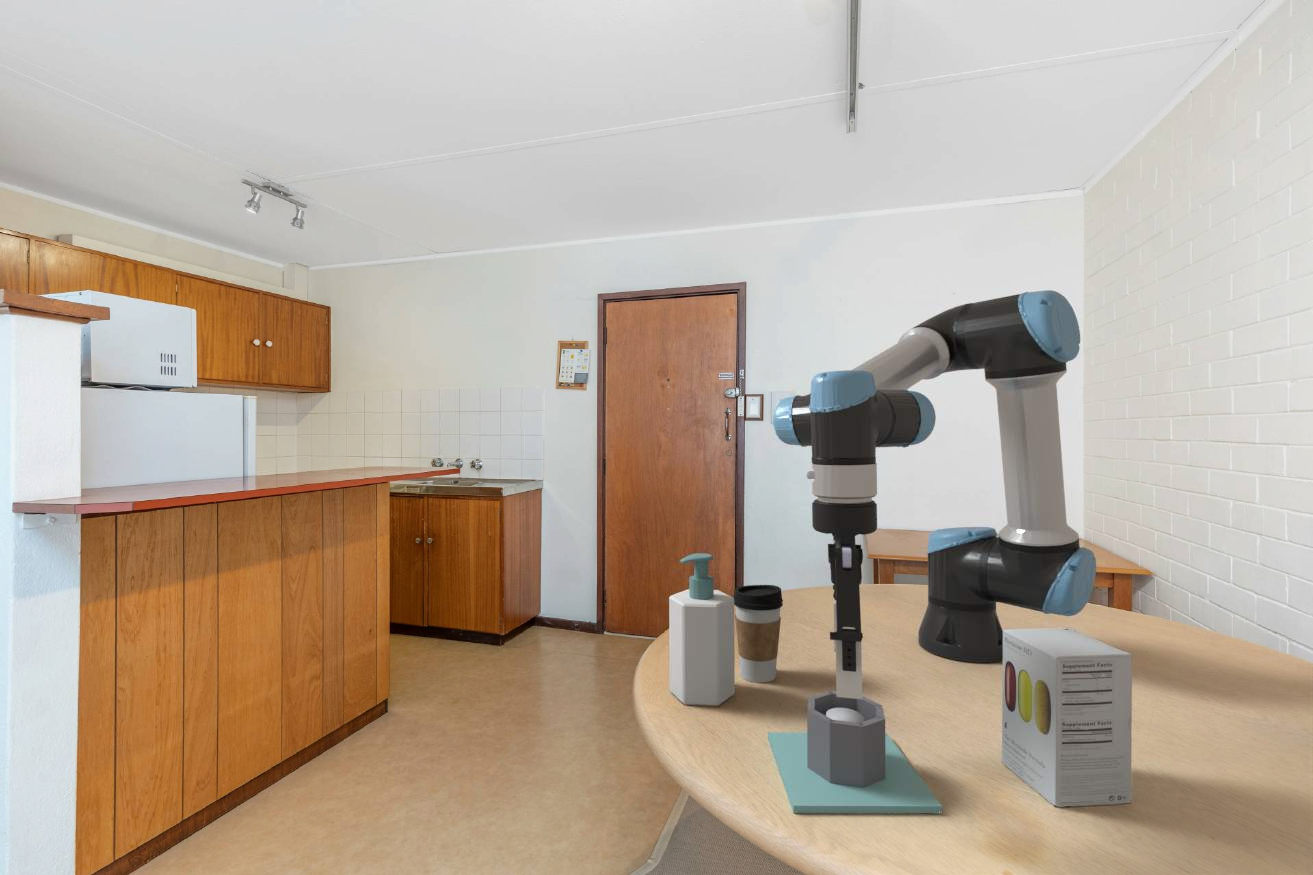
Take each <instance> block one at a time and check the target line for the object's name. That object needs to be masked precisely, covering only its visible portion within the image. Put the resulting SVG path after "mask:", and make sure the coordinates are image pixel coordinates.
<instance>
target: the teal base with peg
mask: <svg viewBox="0 0 1313 875" xmlns="http://www.w3.org/2000/svg"><path fill="white" fill-rule="evenodd" d="M826 716H827V717H829V718H831V719H832V720H839V721H848V722H856V723H861V722H864V717H863V715H862V714H860V713H859V712H857V711H855V710H852V709H848V708H832V709H829V710H828V711H827V712H826ZM767 741H768V743H769V747H770V749H771V752H772V754H773V758H774V760H775V764H776V766H777V767H776V768H777V769H778V772H779V775H780V778H781V781H782V784H783V786H784V790H785V792H786V795H787V798H788V802H789V804H790V807H791V810H792V813H793V814H900V815H901V814H903V815H904V814H905V813H906V814H907V813H909V814H910V813H911V814H913V813H914V814H915V815H916V813H918V814H919V813H939V812H940V813H942V811H943V810H942V809H943V807H942V805H941V803H940V802H939V801H938V800H937V798H936V797H935V796H934V794H933V793H932V791H931V790H930V789H929V787H928V786H927V785H926V783H925V782H924V780H923V779H922V778H921V776H920V775H919V774H918V772H916V770H915V769H914V767H913V766H912V764H910V762H909V760H907V758H906V757H905V755H904V754H903V753H902V752H901V750H900V749H899V747H898V745H897V744H896V743H895V742H894V740H892V738H891V736H890V735H889V734H888V733H887V732H885V779H884V780H881V781H879V782H877V783H874V784H872V785H869V786H867V787H865V788H860V787H853V786H846V785H840V784H833V783H829V782H828V781H826V780H825V779H823V778H822V777H820V776H819V775H818V774H816V773H815V772H813V771H812V770H810V769H809V768H808V765H807V731H806V732H805V731H801V732H800V731H796V732H795V731H794V732H793V731H792V732H791V731H789V732H787V731H785V732H784V731H778V732H777V731H775V732H774V731H773V732H772V731H771V732H769V731H767ZM942 814H943V813H942ZM907 815H908V814H907Z"/></svg>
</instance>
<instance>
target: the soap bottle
mask: <svg viewBox="0 0 1313 875" xmlns="http://www.w3.org/2000/svg"><path fill="white" fill-rule="evenodd" d="M713 559H714V555H712V554H710V553H706V552H704V553H702V552H701V553H699V552H697V553H696V552H695V553H693V554H689V555H687V556H685V557H683V558H681V559H680V560H679V563H680V564H682V565H683V564H687V563H693V565H694V566H693V567H694V568H693V569H694V570H693V571H694V572H693V573H694V575H691V576H689V578H688V581H689V585H688V586H689V588H688V589H685V590H683V591H680V592H677V593H675V594H672V595H670V596H669V597H668V602H669V603H668V606H669V608H668V610H669V612H668V614H669V615H668V616H669V617H668V618H669V620H668V621H669V622H668V623H669V624H668V625H669V627H668V628H669V636H668V637H669V638H668V639H669V640H668V641H669V645H668V647H669V658H668V659H669V692H671V694H672V695H673V696H675V697H676V699H678V700H679V702H681V703H682V704H683V705H685V706H700V707H701V706H702V707H703V706H704V707H705V706H707V707H718V706H720V705H721V704H723V703H724V702H725V701H727V700H729V698H731V697H732V696H734V695H735V693H736V692H735V689H736V688H735V687H736V686H735V682H736V681H735V678H736V677H735V676H736V675H735V605H734V598H733V597H734V596H732V595H731V596H730V595H729V594H727V593H725V592H723V591H721V590H719V589H715V588H714V583H715V582H714V580H715V579H714V576H711V575H710V573H709V572H710V570H709V569H710V567H709V566H710V564H709V563H710V561H712V560H713Z"/></svg>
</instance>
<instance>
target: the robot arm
mask: <svg viewBox="0 0 1313 875" xmlns="http://www.w3.org/2000/svg"><path fill="white" fill-rule="evenodd" d="M1080 330H1081V329H1080V324H1079V322H1078V318H1077V315H1076V313H1075V310H1074V308H1073V306H1072V304H1071V303H1070V302H1069V300H1068V299H1067V298H1066V297H1065V296H1064V295H1063V294H1061V293H1060V292H1058V291H1056V290H1050V289H1049V290H1047V289H1046V290H1038V291H1029V292H1028V291H1026V292H1022V293H1018V294H1017V293H1016V294H1013V295H1008V296H1004V297H1003V296H1002V297H997V298H992V299H987V300H981V301H976V302H970V303H969V302H968V303H964V304H961V305H958V306H954V307H951V308H950V309H947V310H944V311H942V312H940V313H938V314H936V315H934V316H932V317H930V318H928V319H927V320H924V321H923V322H921V323H919V324H917V325H915V326H913V327H912V328H910V329H909V330H907V331H906V332H904V333H903V334H902V335H901V336H900V337H899V340H898V341H897V343H896V344H894V345H892V346H890V347H889V348H887V349H885V350H884V351H882V352H880V353H879V354H877V355H875V356H873V357H871V358H870V359H868V360H866V361H865V362H863V363H861V364H859V365H858V366H856V367H854V368H853V369H850V370H848V369H847V370H845V369H844V370H832V371H825V372H819V373H817V374H816V375H813V377H812V379H811V382H810V393H809V394H806V395H798V394H797V395H794V396H790V397H785V398H783V399H781V400H780V401H779V402H778V403H777V405H776V407H775V409H774V411H773V416H772V425H773V427H774V428H773V429H774V431H775V432H774V433H775V434H776V436H777V438H778V439H779V440H780V442H782V443H784V444H786V445H791V446H800V447H803V448H804V447H805V448H806V447H811V468H812V470H808V471H807V473H806V478H807V480H813V481H812V482H811V487H812V488H811V490H812V491H811V492H812V495H814V497H817V499H814V500H813V501H812V503H811V512H812V513H811V514H812V516H811V517H812V518H811V521H812V528H813V530H814V531H816V532H818V533H822V534H826V535H828V534H830V535H832V538H833V543H827V559H828V563H829V566H830V581H831V583H832V584H833V585H832V589H833V593H832V594H833V595H832V597H833V598H834V600H835V601H833V631H830V632H829V640H831V641H834V645H833V646H834V648H833V649H834V653H835V674H836V675H835V676H836V677H835V681H836V690H835V692H836V694H837V697H844V698H854V699H862V696H863V669H862V667H863V666H862V664H863V661H862V659H863V658H862V641H863V638H864V634H863V632H862V621H861V620H862V617H861V616H862V615H861V597H860V596H861V595H860V594H861V593H860V592H861V591H860V585H862V580H863V576H862V575H863V573H862V565H863V562H864V554H863V549H862V544H856V536H858V535H863V536H865V535H870V534H873V533H874V532H876V531H877V529H878V507H877V506H878V504H877V503H876V501H875V500H873V498H874V497H876V496H877V495H878V476H877V475H878V471H877V470H878V469H877V468H878V467H877V466H878V465H877V456H876V449H877V448H892V447H893V448H897V447H898V448H907V447H909V446H914V445H918V444H920V443H922V442H924V441H925V440H927V439H928V438H929V437H930V436H931V434H932V433H933V431H934V428H935V425H936V419H937V418H936V410H935V407H934V405H933V404H932V402H931V400H930V399H929V398H928V396H926V395H924V394H922V393H921V392H918V391H913V390H909V389H910V388H912V387H913V386H915V385H916V384H917V383H919V382H920V381H922V380H932V379H935V378H937V377H939V376H941V375H942V374H945V373H950V372H957V371H968V370H981V369H982V370H984V378H985V379H984V380H985V381H986V382H987V383H989V385H991V386H992V387H993V388H994V389H995V390H996V401H997V413H998V426H999V436H1000V437H999V439H1000V448H1001V449H1000V451H1001V461H1002V472H1003V473H1002V475H1003V483H1004V484H1003V485H1004V495H1005V507H1006V521H1007V523H1006V525H1005V526H1003V527H1002V529H1000V530H999V531H998V532H997V530H996V529H995V528H994V527H988V526H961V527H948V528H946V527H945V528H940V529H936V530H933V531H932V532H931V533H929V536H928V540H927V551H926V555H927V606H926V609H925V612H924V615H923V617H922V621H921V623H920V626H919V629H918V636H917V637H918V640H917V641H918V645H919V646H920V647H921V648H922V649H923V650H925V651H927V652H929V653H931V654H932V655H933V654H934V655H937V656H938V657H941V658H945V659H950V660H956V661H961V662H967V663H968V662H969V663H994V662H1000V661H1003V630H1004V629H1003V628H1002V624H1001V622H1000V619H999V616H998V614H997V603H1001V604H1005V605H1009V606H1013V607H1018V608H1022V609H1027V610H1031V611H1036V612H1040V613H1043V614H1045V615H1050V614H1051V615H1058V616H1064V617H1072V616H1076V615H1078V614H1079V613H1081V612H1082V610H1083V609H1084V608H1085V607H1086V605H1087V604H1088V602H1089V600H1090V598H1091V595H1092V592H1093V589H1094V586H1095V580H1096V573H1097V559H1096V556H1095V553H1094V552H1093V550H1091V549H1089V548H1088V547H1084V546H1081V545H1080V535H1079V533H1078V532H1077V531H1076V530H1074V529H1073V528H1072V527H1071V526H1070V525H1069V524H1068V522H1067V520H1068V519H1067V510H1066V496H1065V483H1064V482H1065V481H1064V467H1063V457H1062V454H1063V452H1062V444H1061V443H1062V442H1061V441H1062V440H1061V429H1060V414H1059V405H1058V404H1059V403H1058V402H1059V401H1058V388H1057V387H1058V386H1057V383H1058V381H1059V380H1060V379H1061V378H1062V377H1063V376H1065V374H1066V373H1067V371H1068V369H1067V363H1068V362H1071V361H1072V360H1075V358H1077V356H1078V355H1079V352H1080V344H1081V331H1080ZM1080 546H1081V547H1080Z"/></svg>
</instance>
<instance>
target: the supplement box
mask: <svg viewBox="0 0 1313 875" xmlns="http://www.w3.org/2000/svg"><path fill="white" fill-rule="evenodd" d="M1002 630H1003V660H1002V691H1001V692H1002V694H1001V696H1002V698H1001V699H1002V700H1001V701H1002V704H1001V706H1002V707H1001V708H1002V709H1001V710H1002V711H1001V719H1002V720H1001V763H1003V764H1004V765H1005V766H1007V768H1009V770H1011V771H1012V772H1013V773H1014V774H1016V775H1017V776H1018V777H1019V778H1020V779H1021V780H1023V781H1024V782H1025V783H1027V785H1029V786H1030V787H1031V788H1032V789H1033V790H1035V791H1036V793H1038V794H1039V795H1040V794H1041V797H1043V798H1044V799H1045V800H1046V799H1047V800H1046V801H1047V802H1049V803H1050V804H1051V803H1052V804H1053V805H1052V804H1051V805H1052V806H1054V805H1055V806H1057V807H1056V808H1067V807H1066V806H1071V807H1085V806H1086V807H1089V806H1103V805H1104V806H1105V805H1122V804H1123V805H1124V803H1125V804H1132V745H1133V744H1132V741H1133V740H1132V722H1133V720H1132V719H1133V716H1132V715H1133V714H1132V713H1133V712H1132V711H1133V707H1132V706H1133V704H1132V702H1133V655H1132V654H1131V653H1130V652H1127V651H1124V650H1121V649H1119V648H1117V647H1114V646H1112V645H1109V644H1107V643H1104V642H1102V641H1100V640H1098V639H1095V638H1093V637H1091V636H1088V635H1086V634H1084V633H1082V632H1079V631H1077V630H1075V628H1074V629H1073V628H1071V627H1046V628H1045V627H1041V628H1039V627H1038V628H1006V629H1002ZM1055 806H1054V807H1055ZM1064 806H1065V807H1064Z"/></svg>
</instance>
